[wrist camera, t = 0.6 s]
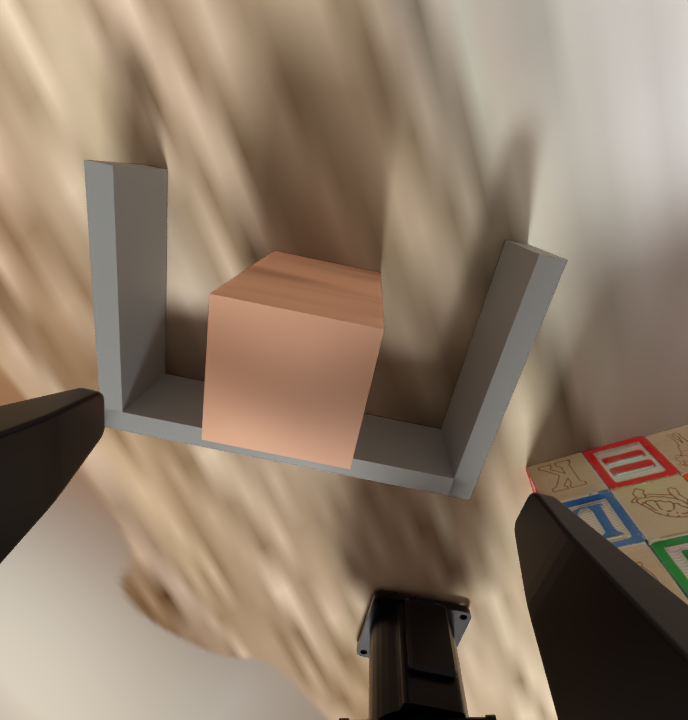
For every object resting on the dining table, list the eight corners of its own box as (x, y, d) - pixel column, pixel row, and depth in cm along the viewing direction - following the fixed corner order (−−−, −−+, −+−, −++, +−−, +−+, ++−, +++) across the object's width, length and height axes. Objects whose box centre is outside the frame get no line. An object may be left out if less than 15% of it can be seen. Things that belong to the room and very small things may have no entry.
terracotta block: (358, 368, 21) (350, 469, 13) (262, 349, 21) (201, 439, 13) (380, 272, 19) (384, 329, 11) (274, 250, 19) (209, 293, 11)
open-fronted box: (453, 447, 22) (469, 500, 19) (146, 386, 22) (101, 426, 18) (527, 244, 18) (567, 260, 14) (144, 164, 18) (84, 159, 14)
